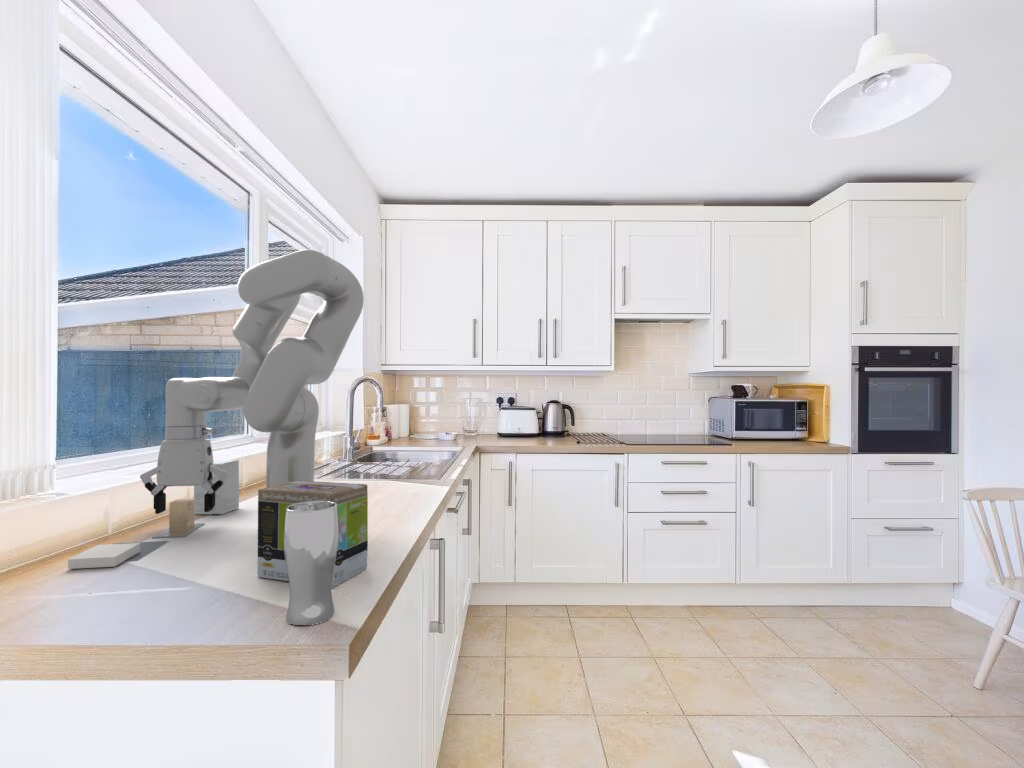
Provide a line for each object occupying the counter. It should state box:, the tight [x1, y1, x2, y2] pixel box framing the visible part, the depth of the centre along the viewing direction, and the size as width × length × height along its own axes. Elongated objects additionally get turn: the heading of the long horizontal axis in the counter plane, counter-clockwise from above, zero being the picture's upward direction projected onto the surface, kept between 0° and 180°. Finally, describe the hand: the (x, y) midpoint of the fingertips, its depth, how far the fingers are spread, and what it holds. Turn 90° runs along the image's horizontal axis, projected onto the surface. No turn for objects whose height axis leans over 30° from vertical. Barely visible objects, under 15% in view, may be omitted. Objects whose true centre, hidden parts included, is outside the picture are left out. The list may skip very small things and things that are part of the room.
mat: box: [112, 540, 170, 563], centre depth 95 cm, size 10×12×1 cm
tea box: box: [257, 480, 369, 589], centre depth 85 cm, size 15×10×15 cm, turn 71°
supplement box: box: [193, 459, 240, 516], centre depth 128 cm, size 7×7×13 cm
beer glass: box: [284, 501, 339, 627], centre depth 69 cm, size 7×7×15 cm
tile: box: [67, 542, 140, 570], centre depth 90 cm, size 2×7×8 cm
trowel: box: [151, 498, 206, 539], centre depth 109 cm, size 10×6×7 cm, turn 10°
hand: (184, 511), depth 112 cm, fingers open, 9 cm apart
